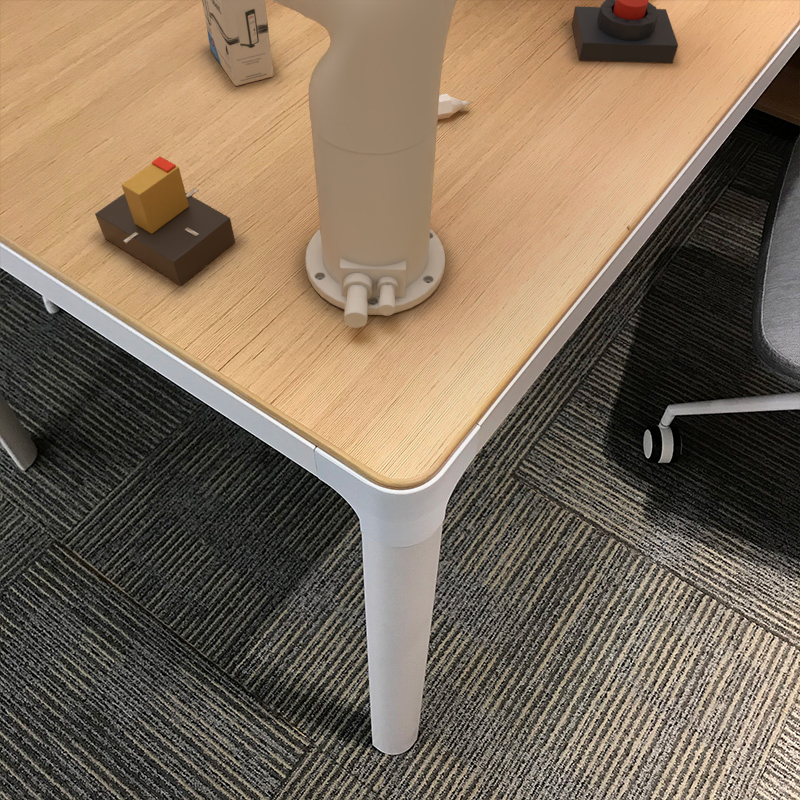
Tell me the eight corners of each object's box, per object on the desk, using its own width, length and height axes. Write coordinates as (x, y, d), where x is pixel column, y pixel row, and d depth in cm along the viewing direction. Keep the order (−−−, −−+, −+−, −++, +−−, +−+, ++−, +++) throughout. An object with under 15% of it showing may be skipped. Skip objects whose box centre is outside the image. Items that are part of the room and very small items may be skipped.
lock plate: (242, 237, 72) (237, 210, 69) (173, 292, 68) (165, 266, 65) (166, 193, 75) (158, 167, 72) (96, 244, 71) (85, 217, 68)
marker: (472, 116, 84) (331, 141, 81) (467, 98, 84) (326, 122, 81) (478, 105, 82) (334, 130, 78) (473, 86, 82) (328, 110, 79)
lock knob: (151, 234, 67) (138, 192, 63) (134, 224, 68) (119, 181, 64) (189, 206, 69) (178, 164, 66) (172, 196, 70) (160, 154, 66)
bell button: (646, 22, 88) (651, 7, 87) (615, 21, 88) (619, 6, 87) (641, 5, 90) (645, -10, 89) (611, 5, 90) (614, -11, 89)
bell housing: (672, 63, 90) (683, 30, 87) (578, 60, 90) (586, 27, 86) (660, 26, 94) (670, -7, 91) (571, 23, 94) (578, -9, 91)
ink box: (209, 49, 90) (188, -58, 80) (249, 39, 91) (233, -67, 81) (234, 88, 85) (216, -21, 76) (276, 77, 87) (263, -31, 77)
